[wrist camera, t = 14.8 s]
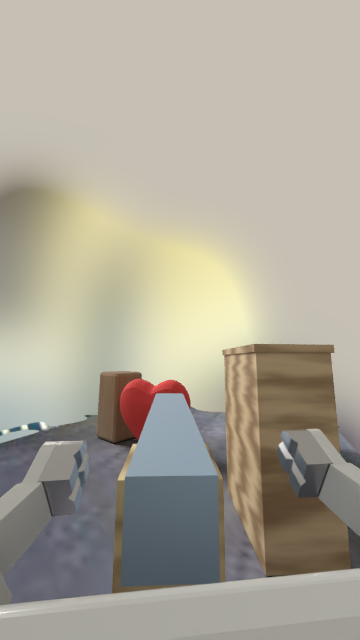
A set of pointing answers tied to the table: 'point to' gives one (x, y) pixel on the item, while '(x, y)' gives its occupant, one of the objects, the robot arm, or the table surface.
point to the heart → (144, 401)
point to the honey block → (119, 530)
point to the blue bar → (170, 502)
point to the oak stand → (262, 457)
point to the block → (113, 406)
